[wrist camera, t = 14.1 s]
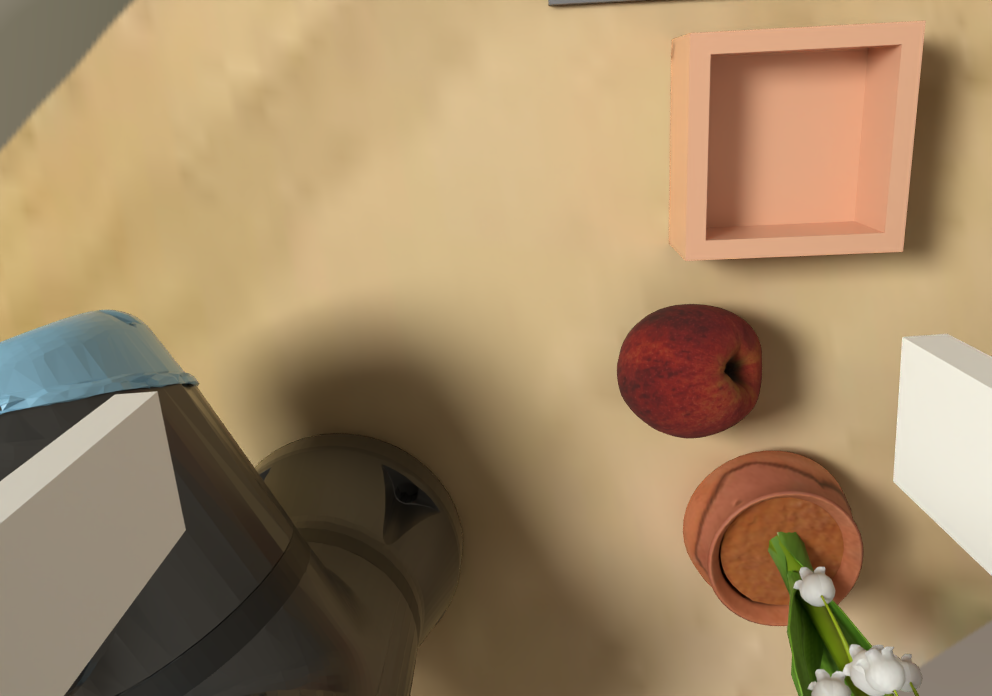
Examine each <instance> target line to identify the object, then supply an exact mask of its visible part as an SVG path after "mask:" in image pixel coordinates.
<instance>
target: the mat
mask: <svg viewBox="0 0 992 696" xmlns="http://www.w3.org/2000/svg"><path fill="white" fill-rule="evenodd" d="M548 1H549V6H551V5H570V4H588V3H607V2H625V1H644V0H548Z"/></svg>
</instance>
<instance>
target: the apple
mask: <svg viewBox="0 0 992 696" xmlns="http://www.w3.org/2000/svg"><path fill="white" fill-rule="evenodd" d="M617 379H618V385H619V389H620V393H621V395H622V397H623V399H624V401H625V402H626V404H627V405H628V406H629V408H630V409H631V410H632V411H633V412H634V413H635V414H636V415H637V416H638V417H639V418H640V419H641V420H643V421H644V422H645V423H647V424H648V425H649V426H651V427H652V428H654V429H656V430H658V431H660V432H663V433H665V434H668V435H672V436H675V437H681V438H700V437H706V436H709V435H713V434H716V433H719V432H721V431H724V430H726V429H728V428H730V427H732V426H733V425H735V424H737V423H738V422H739V421H741V420H742V419H743V418H744V417H745V416H746V415H747V414H749V413H750V411H751V410H752V409H753V408H754V406H755V404H756V402H757V400H758V396H759V392H760V387H761V379H762V350H761V345H760V342H759V339H758V337H757V335H756V333H755V331H754V330H753V329H752V327H751V326H750V325H749V324H748V323H747V322H746V321H745V320H743V319H742V318H740V317H739V316H737V315H736V314H734V313H732V312H729V311H727V310H725V309H722V308H718V307H714V306H708V305H699V304H684V305H674V306H669V307H666V308H663V309H659V310H657V311H655V312H653V313H651V314H649V315H648V316H646V317H645V318H644V319H642V320H641V321H640V322H639V323H637V324H636V325H635V326H634V327H633V328H632V330H631V331H630V332H629V333H628V335H627V337H626V338H625V340H624V342H623V344H622V347H621V350H620V355H619V359H618V363H617Z"/></svg>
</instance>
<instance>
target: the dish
mask: <svg viewBox="0 0 992 696" xmlns="http://www.w3.org/2000/svg"><path fill="white" fill-rule="evenodd" d="M924 31H925V21H910V22H891V23H872V24H853V25H834V26H815V27H796V28H777V29H758V30H739V31H720V32H701V33H689V34H686V35H683V36H680V37H677V38H674V39H672V49H671V123H670V197H669V244H670V245H671V246H672V247H673V248H674V249H675V250H676V252H677V253H678V254H679V255H680V256H681V257H682V258H683V259H684V260H685V261H692V260H716V259H740V258H764V257H788V256H812V255H836V254H860V253H884V252H903V246H904V236H905V226H906V216H907V205H908V195H909V185H910V175H911V164H912V154H913V144H914V134H915V123H916V113H917V103H918V93H919V82H920V72H921V62H922V52H923V41H924Z"/></svg>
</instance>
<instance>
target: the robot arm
mask: <svg viewBox="0 0 992 696" xmlns="http://www.w3.org/2000/svg"><path fill="white" fill-rule="evenodd" d="M198 385H199V383H198V381H197V380H196V378H195V377H194V376H192V375H191V374H189V373H185V372H184V371H183V370H182V368H181V367H180V366H179V365H178V363H177V362H176V361H175V360H174V358H173V357H172V356H171V355H170V353H169V352H168V351H167V350H166V348H165V347H164V346H163V345H162V343H161V342H160V341H159V339H158V338H157V337H156V336H155V334H154V333H153V332H152V331H151V329H150V328H149V327H148V326H147V325H146V324H145V323H144V322H142V321H141V320H140V319H138V318H137V317H135V316H133V315H131V314H128V313H125V312H122V311H116V310H99V311H91V312H87V313H82V314H79V315H75V316H72V317H68V318H65V319H62V320H59V321H56V322H53V323H50V324H48V325H45V326H42V327H39V328H36V329H33V330H31V331H28V332H25V333H23V334H20V335H18V336H15V337H12V338H10V339H7V340H5V341H2V342H0V696H410V693H411V687H412V680H413V674H414V668H415V662H416V655H417V649H418V647H419V646H420V644H421V643H422V642H423V641H424V639H425V638H426V637H427V635H428V634H429V633H430V631H431V630H432V629H433V627H434V626H435V625H436V624H437V623H438V622H439V620H440V619H441V618H442V616H443V615H444V613H445V612H446V610H447V608H448V606H449V605H450V603H451V600H452V598H453V596H454V593H455V590H456V587H457V584H458V580H459V575H460V568H461V560H462V550H463V538H462V530H461V525H460V520H459V517H458V514H457V511H456V508H455V506H454V504H453V502H452V500H451V498H450V496H449V494H448V493H447V491H446V490H445V488H444V487H443V485H442V484H441V483H440V481H439V480H438V479H437V478H436V477H435V476H434V474H433V473H432V472H431V471H430V470H429V469H428V468H427V467H425V466H424V465H423V464H422V463H421V462H419V461H418V460H417V459H415V458H414V457H412V456H411V455H409V454H408V453H406V452H404V451H403V450H401V449H399V448H397V447H395V446H393V445H390V444H388V443H385V442H383V441H380V440H377V439H373V438H369V437H365V436H359V435H352V434H324V435H317V436H312V437H307V438H304V439H301V440H297V441H295V442H292V443H290V444H288V445H285V446H283V447H281V448H280V449H278V450H276V451H275V452H273V453H272V454H270V455H269V456H267V457H266V458H265V459H264V460H262V461H261V462H260V463H259V464H258V465H257V466H256V467H255V468H254V467H253V465H252V464H251V462H250V461H249V460H248V458H247V457H246V455H245V454H244V452H243V451H242V450H241V448H240V447H239V445H238V444H237V443H236V441H235V440H234V438H233V437H232V436H231V434H230V433H229V431H228V430H227V428H226V427H225V426H224V424H223V423H222V421H221V420H220V419H219V417H218V416H217V414H216V413H215V412H214V410H213V409H212V407H211V406H210V404H209V403H208V402H207V400H206V399H205V397H204V396H203V395H202V393H201V392H200V390H199V389H198V388H197V386H198ZM893 482H894V483H895V484H896V485H897V486H898V487H900V488H901V489H902V490H903V491H904V492H905V493H906V494H907V495H908V496H909V497H910V498H911V499H912V500H913V501H914V502H915V503H916V504H917V505H918V506H919V507H920V508H921V509H922V510H924V511H925V512H926V513H927V514H928V515H929V516H930V517H931V518H932V519H933V520H934V521H935V522H936V523H937V524H938V525H939V526H940V527H941V528H942V529H943V530H944V531H945V532H946V533H947V534H949V535H950V536H951V537H952V538H953V539H954V540H955V541H956V542H957V543H958V544H959V545H960V546H961V547H962V548H963V549H964V550H965V551H966V552H967V553H968V554H969V555H970V556H971V557H973V558H974V559H975V560H976V561H977V562H978V563H979V564H980V565H981V566H982V567H983V568H984V569H985V570H986V571H987V572H988V573H989V574H990V575H991V576H992V357H991V356H989V355H987V354H985V353H983V352H981V351H979V350H978V349H976V348H974V347H972V346H970V345H968V344H966V343H964V342H962V341H960V340H958V339H956V338H954V337H952V336H950V335H948V334H937V335H924V336H910V337H902V352H901V368H900V384H899V400H898V416H897V432H896V447H895V463H894V479H893Z"/></svg>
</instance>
